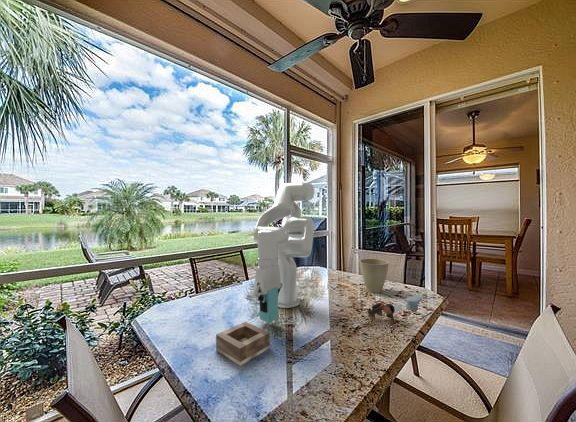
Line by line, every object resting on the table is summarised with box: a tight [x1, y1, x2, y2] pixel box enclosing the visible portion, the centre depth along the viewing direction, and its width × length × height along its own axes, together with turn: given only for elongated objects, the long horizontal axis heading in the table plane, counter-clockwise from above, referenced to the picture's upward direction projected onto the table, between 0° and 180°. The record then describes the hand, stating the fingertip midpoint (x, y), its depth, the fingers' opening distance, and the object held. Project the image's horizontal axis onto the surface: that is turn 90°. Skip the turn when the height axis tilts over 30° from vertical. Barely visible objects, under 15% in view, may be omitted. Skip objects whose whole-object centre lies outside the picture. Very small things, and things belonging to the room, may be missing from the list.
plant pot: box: [359, 258, 390, 294], centre depth 137 cm, size 15×15×16 cm
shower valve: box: [394, 294, 425, 312], centre depth 112 cm, size 12×6×15 cm
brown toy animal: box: [366, 302, 396, 327], centre depth 101 cm, size 12×10×8 cm
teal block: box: [259, 288, 279, 324], centre depth 97 cm, size 5×5×12 cm
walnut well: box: [215, 321, 271, 366], centre depth 81 cm, size 12×12×5 cm
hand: (268, 308), depth 97 cm, fingers closed on teal block, 5 cm apart
